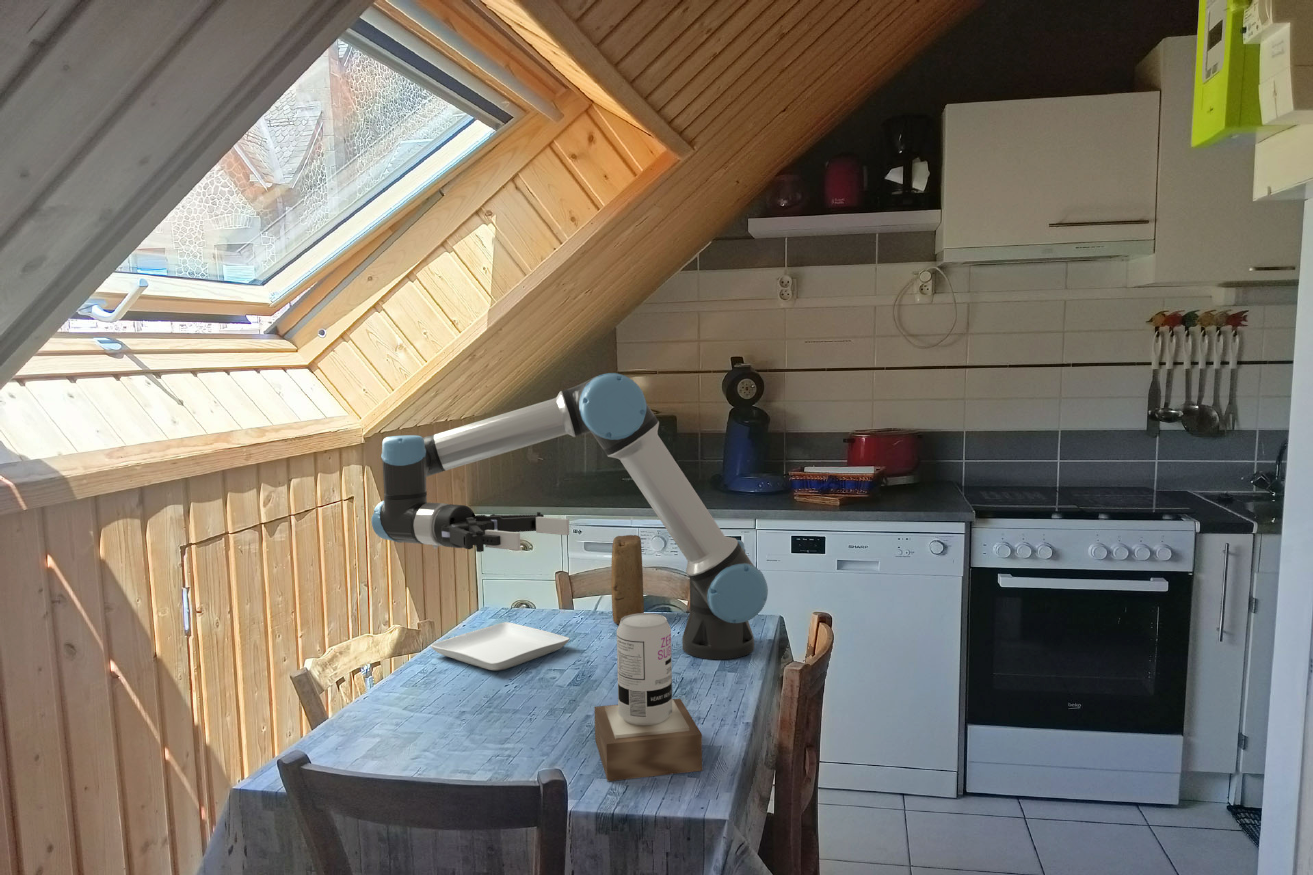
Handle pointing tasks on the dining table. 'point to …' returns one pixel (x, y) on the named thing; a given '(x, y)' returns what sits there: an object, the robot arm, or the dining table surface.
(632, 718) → the supplement can
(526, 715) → the dining table surface
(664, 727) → the walnut pedestal
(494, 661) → the salad plate
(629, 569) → the block
